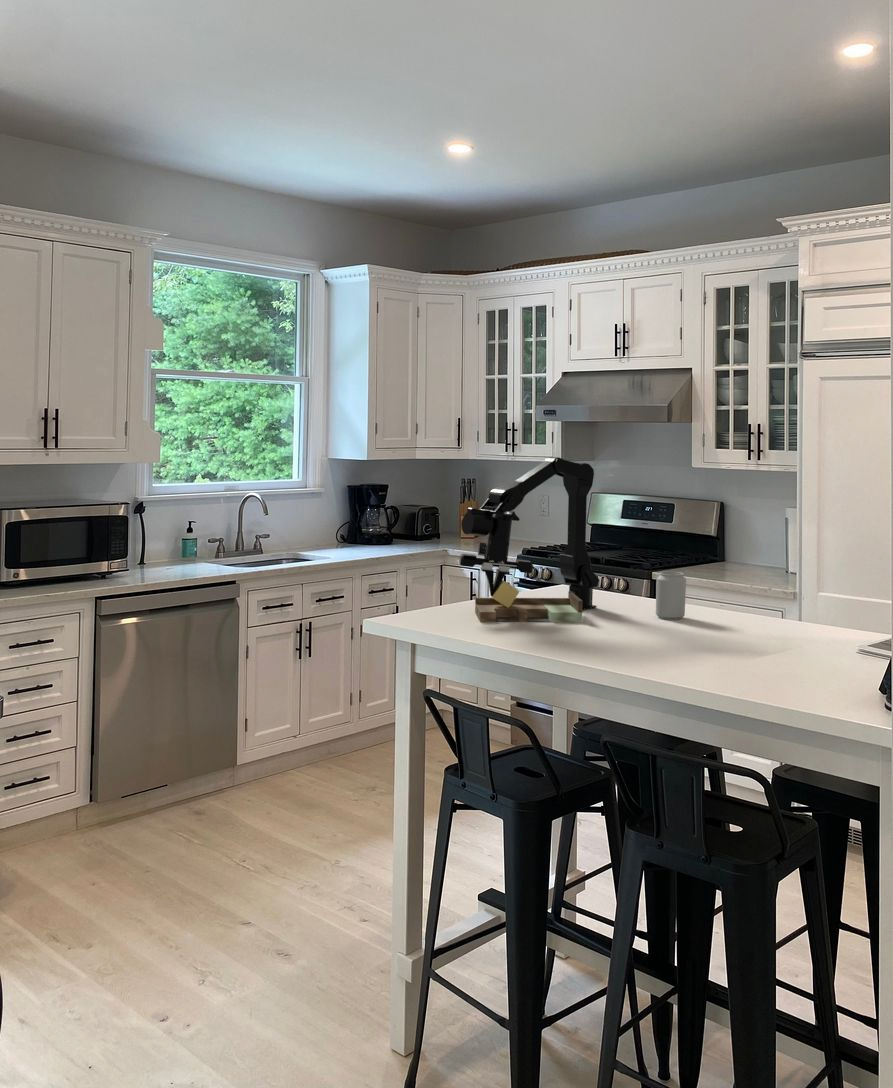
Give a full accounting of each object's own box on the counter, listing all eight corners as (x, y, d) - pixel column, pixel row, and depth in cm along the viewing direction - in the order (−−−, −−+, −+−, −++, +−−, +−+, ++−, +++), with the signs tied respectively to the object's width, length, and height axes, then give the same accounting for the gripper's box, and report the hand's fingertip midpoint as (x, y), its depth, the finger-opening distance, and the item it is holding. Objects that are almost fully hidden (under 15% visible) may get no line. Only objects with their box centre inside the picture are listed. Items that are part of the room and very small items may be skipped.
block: (506, 604, 258) (517, 589, 257) (508, 608, 253) (519, 592, 252) (490, 594, 257) (501, 578, 257) (492, 598, 252) (503, 581, 252)
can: (682, 615, 260) (684, 570, 259) (686, 620, 253) (688, 574, 251) (653, 614, 261) (655, 570, 260) (657, 619, 254) (658, 574, 252)
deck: (571, 612, 261) (572, 592, 261) (581, 622, 249) (582, 600, 248) (475, 612, 260) (475, 592, 259) (480, 621, 247) (480, 600, 246)
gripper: (530, 538, 262) (523, 595, 263) (461, 530, 261) (454, 588, 262) (536, 541, 251) (529, 601, 252) (464, 533, 250) (457, 594, 251)
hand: (492, 596), depth 255 cm, fingers closed, pressing on block
